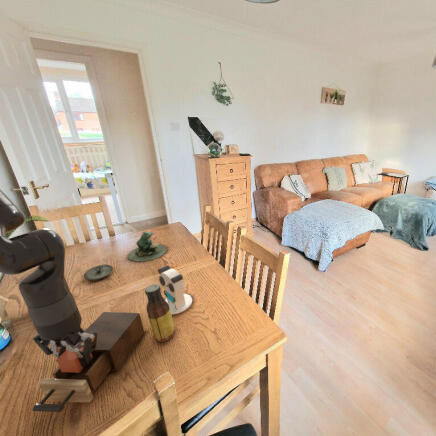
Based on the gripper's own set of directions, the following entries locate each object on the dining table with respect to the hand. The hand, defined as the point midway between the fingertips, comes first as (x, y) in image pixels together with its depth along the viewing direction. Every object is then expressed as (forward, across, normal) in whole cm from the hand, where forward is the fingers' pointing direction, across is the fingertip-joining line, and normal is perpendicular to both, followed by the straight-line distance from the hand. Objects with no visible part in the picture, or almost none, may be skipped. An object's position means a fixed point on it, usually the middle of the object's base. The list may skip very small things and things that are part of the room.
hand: (77, 363), depth 61 cm
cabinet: (+8, 0, -10) cm, 13 cm away
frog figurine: (+8, +22, -68) cm, 72 cm away
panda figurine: (+8, -10, -32) cm, 34 cm away
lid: (+8, +32, -47) cm, 58 cm away
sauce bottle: (+8, -13, -16) cm, 23 cm away
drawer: (+7, 0, +1) cm, 7 cm away
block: (0, 0, 0) cm, 0 cm away
